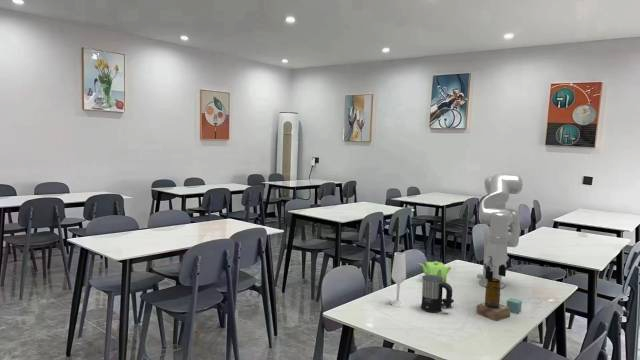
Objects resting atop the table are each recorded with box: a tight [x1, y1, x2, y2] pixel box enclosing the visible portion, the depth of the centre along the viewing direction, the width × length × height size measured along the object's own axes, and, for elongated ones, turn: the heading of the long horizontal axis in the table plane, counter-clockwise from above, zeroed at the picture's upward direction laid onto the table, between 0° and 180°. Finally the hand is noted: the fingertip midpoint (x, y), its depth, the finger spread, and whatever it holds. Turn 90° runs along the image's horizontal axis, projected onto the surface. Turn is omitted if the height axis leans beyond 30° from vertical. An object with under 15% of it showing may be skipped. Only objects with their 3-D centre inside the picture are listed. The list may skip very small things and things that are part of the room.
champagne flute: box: [390, 251, 407, 307], centre depth 206 cm, size 7×7×24 cm
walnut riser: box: [476, 303, 511, 322], centre depth 197 cm, size 10×10×4 cm
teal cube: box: [506, 297, 523, 315], centre depth 203 cm, size 5×5×5 cm
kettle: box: [419, 261, 452, 283], centre depth 243 cm, size 15×14×11 cm
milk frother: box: [420, 274, 455, 313], centre depth 203 cm, size 14×16×15 cm
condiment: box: [479, 278, 505, 310], centre depth 196 cm, size 7×8×12 cm
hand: (495, 277), depth 196 cm, fingers open, 9 cm apart
